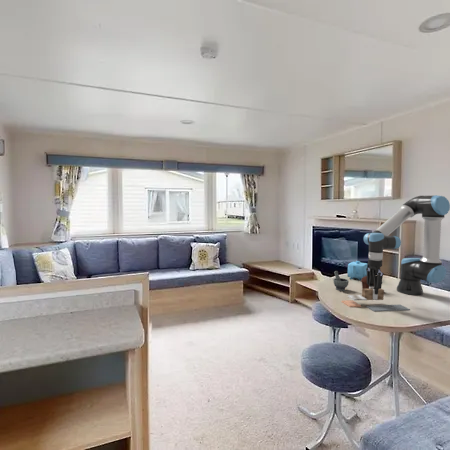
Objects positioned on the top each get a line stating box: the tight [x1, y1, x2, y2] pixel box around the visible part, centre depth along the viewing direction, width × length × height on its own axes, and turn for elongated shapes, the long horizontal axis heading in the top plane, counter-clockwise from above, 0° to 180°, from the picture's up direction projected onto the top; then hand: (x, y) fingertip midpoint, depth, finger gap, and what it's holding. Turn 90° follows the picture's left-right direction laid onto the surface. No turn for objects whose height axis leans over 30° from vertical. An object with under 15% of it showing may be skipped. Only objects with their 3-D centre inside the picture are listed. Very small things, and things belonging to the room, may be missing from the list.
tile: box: [341, 299, 362, 308], centre depth 183 cm, size 1×9×7 cm
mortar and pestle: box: [332, 270, 349, 292], centre depth 213 cm, size 11×9×12 cm
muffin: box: [360, 276, 374, 289], centre depth 211 cm, size 12×11×10 cm
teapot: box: [347, 260, 368, 281], centre depth 244 cm, size 22×11×14 cm, turn 142°
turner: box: [346, 288, 385, 301], centre depth 184 cm, size 20×7×6 cm, turn 98°
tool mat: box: [365, 304, 411, 312], centre depth 177 cm, size 22×8×1 cm, turn 98°
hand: (373, 298), depth 185 cm, fingers closed on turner, 3 cm apart
